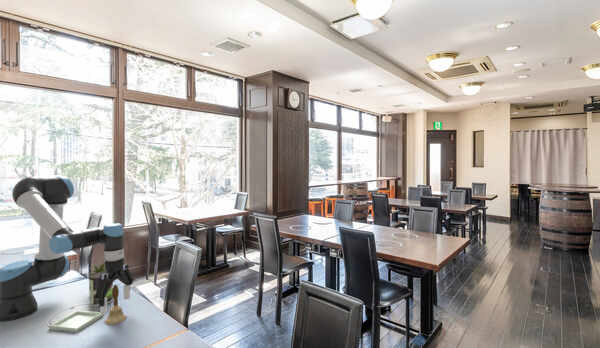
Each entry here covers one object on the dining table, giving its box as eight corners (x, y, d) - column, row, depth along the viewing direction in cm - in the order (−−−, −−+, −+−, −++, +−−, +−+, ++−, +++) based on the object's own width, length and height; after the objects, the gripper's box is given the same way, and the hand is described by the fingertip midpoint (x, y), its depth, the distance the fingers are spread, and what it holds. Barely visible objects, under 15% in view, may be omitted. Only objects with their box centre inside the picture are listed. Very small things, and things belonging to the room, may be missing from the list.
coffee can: (118, 298, 159) (117, 271, 158) (101, 307, 149) (100, 278, 148) (101, 296, 161) (100, 270, 160) (84, 305, 151) (83, 277, 150)
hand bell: (130, 316, 140) (130, 282, 139) (115, 326, 132) (114, 289, 131) (116, 314, 142) (115, 280, 141) (100, 323, 134) (99, 287, 133)
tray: (49, 329, 129) (48, 325, 129) (77, 314, 142) (77, 310, 142) (76, 332, 126) (76, 328, 126) (103, 316, 140) (102, 312, 140)
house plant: (90, 286, 173) (89, 258, 173) (117, 283, 178) (116, 256, 177) (80, 297, 160) (79, 266, 159) (110, 293, 164) (109, 264, 163)
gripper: (99, 268, 123) (100, 320, 123) (140, 251, 147) (142, 294, 148) (82, 267, 124) (84, 318, 125) (127, 250, 149) (128, 293, 149)
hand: (115, 305), depth 136 cm, fingers open, 13 cm apart
